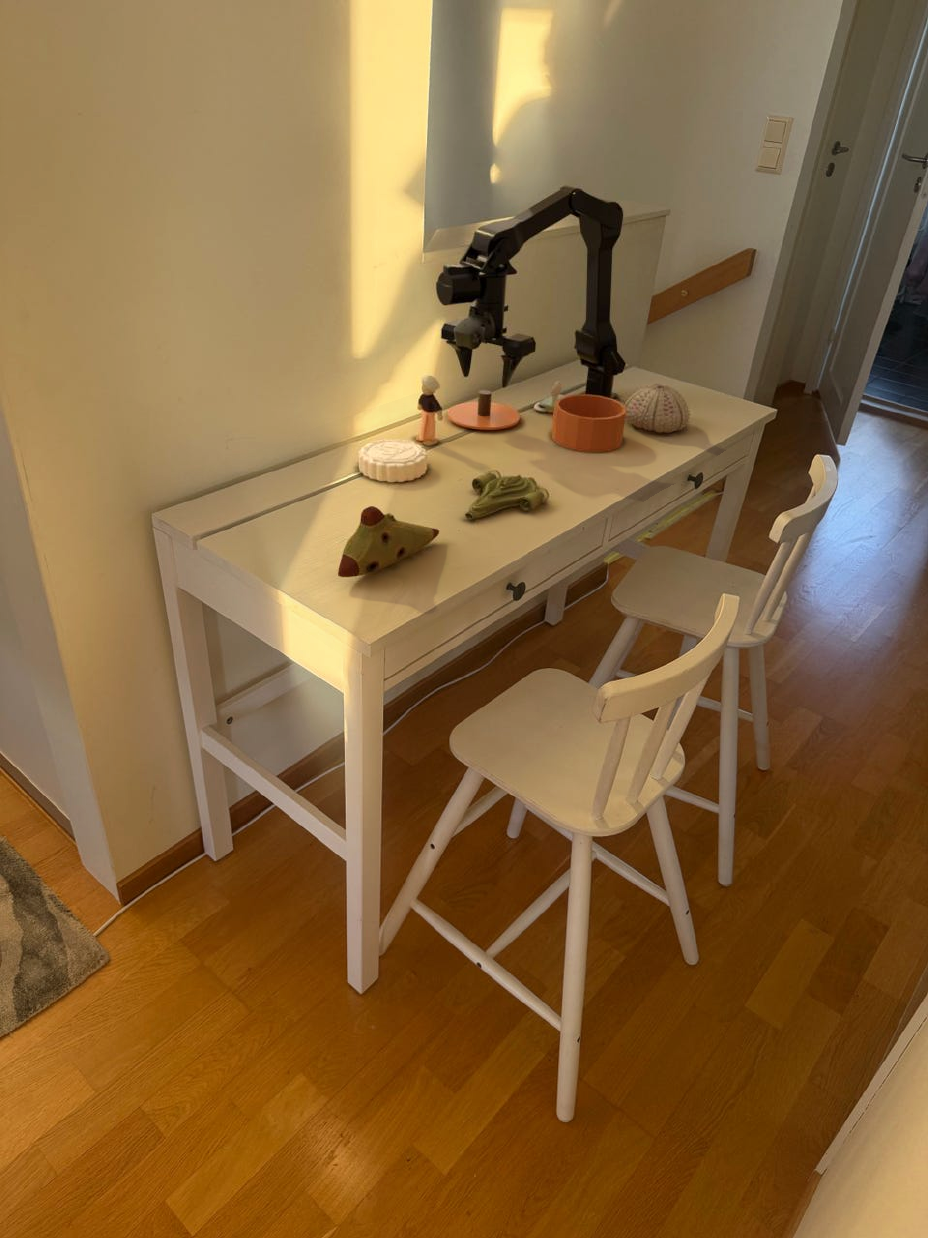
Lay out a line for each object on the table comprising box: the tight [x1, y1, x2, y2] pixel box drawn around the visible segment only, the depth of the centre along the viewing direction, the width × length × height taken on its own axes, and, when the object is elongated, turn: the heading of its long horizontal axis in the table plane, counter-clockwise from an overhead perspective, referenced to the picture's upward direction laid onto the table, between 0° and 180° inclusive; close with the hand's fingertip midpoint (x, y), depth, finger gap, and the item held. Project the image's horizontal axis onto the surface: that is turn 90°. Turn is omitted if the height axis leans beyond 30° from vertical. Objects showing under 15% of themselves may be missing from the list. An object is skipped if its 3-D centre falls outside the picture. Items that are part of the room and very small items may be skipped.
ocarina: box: [337, 505, 440, 578], centre depth 127 cm, size 20×5×10 cm, turn 138°
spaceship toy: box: [464, 469, 550, 521], centre depth 147 cm, size 12×18×4 cm
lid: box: [447, 389, 521, 431], centre depth 178 cm, size 15×15×6 cm
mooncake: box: [358, 439, 428, 483], centre depth 156 cm, size 12×12×4 cm
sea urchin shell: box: [623, 383, 691, 434], centre depth 179 cm, size 13×14×8 cm
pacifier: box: [533, 380, 565, 414], centre depth 184 cm, size 7×6×6 cm
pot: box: [550, 393, 627, 453], centre depth 172 cm, size 14×14×6 cm
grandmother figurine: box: [415, 374, 444, 446], centre depth 165 cm, size 8×4×13 cm, turn 47°
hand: (485, 381), depth 175 cm, fingers open, 9 cm apart
